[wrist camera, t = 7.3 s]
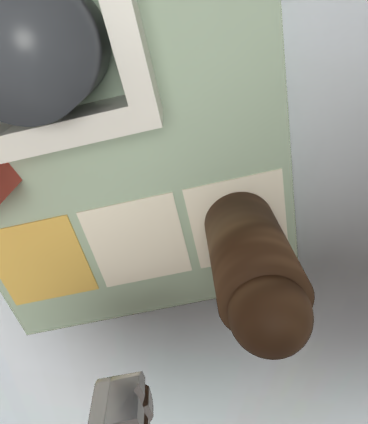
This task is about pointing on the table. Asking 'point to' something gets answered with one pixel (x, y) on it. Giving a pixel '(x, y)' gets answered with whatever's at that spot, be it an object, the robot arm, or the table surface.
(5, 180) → the red cube
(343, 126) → the table surface
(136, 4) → the housing
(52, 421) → the table surface
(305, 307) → the pawn
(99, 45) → the dome
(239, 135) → the board
